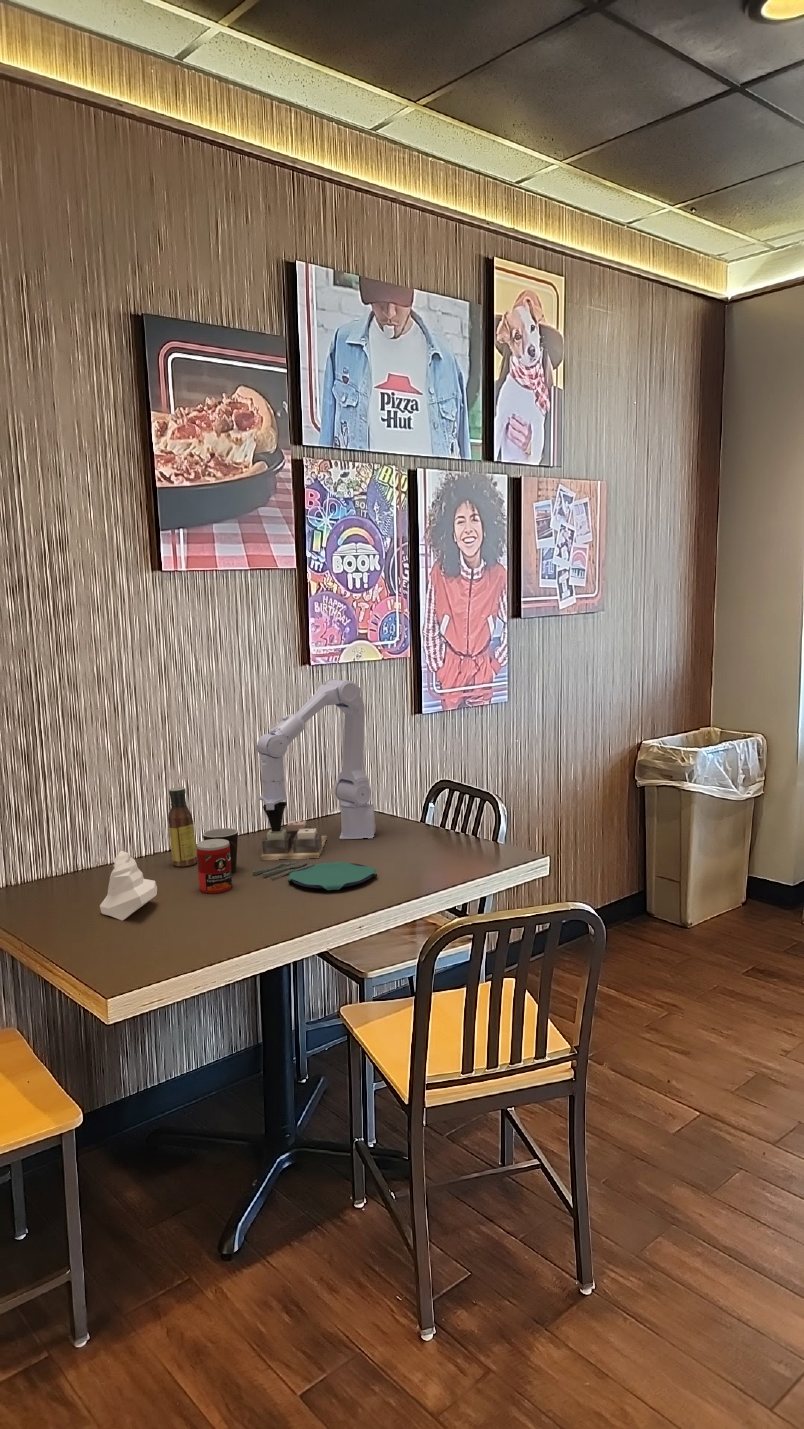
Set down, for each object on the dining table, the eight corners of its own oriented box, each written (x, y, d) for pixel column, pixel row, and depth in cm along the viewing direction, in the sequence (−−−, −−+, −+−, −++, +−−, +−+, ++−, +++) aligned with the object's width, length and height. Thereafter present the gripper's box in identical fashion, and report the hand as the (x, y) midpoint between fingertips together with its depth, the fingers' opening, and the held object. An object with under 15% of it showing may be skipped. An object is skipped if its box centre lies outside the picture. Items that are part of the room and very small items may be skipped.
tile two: (286, 839, 254) (286, 828, 254) (284, 844, 250) (283, 833, 249) (270, 840, 254) (269, 829, 254) (267, 844, 250) (266, 833, 250)
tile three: (306, 830, 263) (305, 820, 263) (304, 834, 259) (303, 824, 258) (290, 831, 263) (289, 820, 263) (287, 835, 259) (287, 824, 258)
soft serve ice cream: (92, 930, 205) (73, 866, 205) (122, 912, 220) (104, 852, 220) (145, 915, 203) (126, 851, 203) (172, 898, 218) (154, 838, 218)
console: (327, 839, 265) (326, 823, 265) (318, 858, 247) (317, 841, 246) (273, 840, 266) (272, 824, 265) (260, 860, 247) (259, 843, 247)
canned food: (207, 896, 220) (203, 849, 218) (194, 887, 226) (190, 842, 225) (238, 889, 224) (235, 843, 223) (224, 881, 231) (221, 836, 229)
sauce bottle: (200, 860, 249) (195, 785, 247) (193, 867, 243) (187, 790, 240) (176, 860, 250) (170, 786, 247) (168, 867, 244) (162, 791, 241)
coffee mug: (205, 868, 242) (203, 829, 241) (240, 865, 244) (237, 826, 242) (204, 881, 231) (202, 841, 229) (241, 878, 232) (238, 838, 231)
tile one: (316, 838, 254) (316, 828, 254) (314, 843, 250) (314, 832, 249) (300, 839, 254) (299, 828, 254) (297, 843, 250) (297, 832, 249)
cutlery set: (333, 899, 214) (333, 889, 214) (244, 879, 233) (244, 870, 233) (391, 877, 229) (391, 868, 229) (303, 860, 248) (303, 852, 248)
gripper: (263, 774, 257) (266, 824, 259) (252, 786, 243) (256, 838, 245) (289, 774, 257) (292, 823, 259) (280, 785, 243) (283, 837, 244)
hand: (276, 830), depth 252 cm, fingers closed
